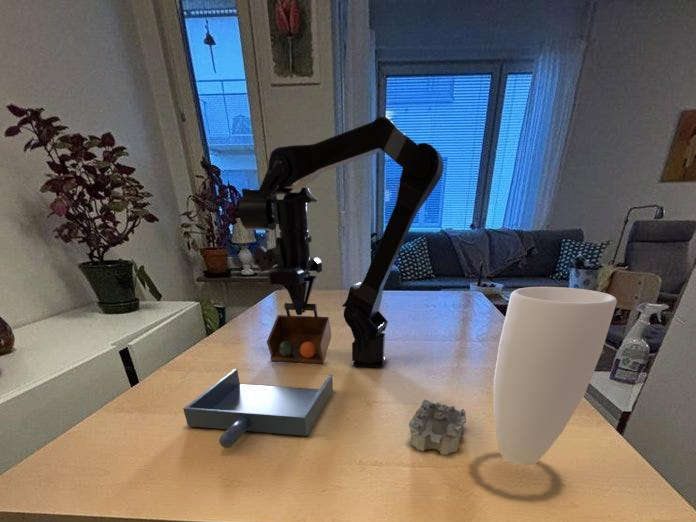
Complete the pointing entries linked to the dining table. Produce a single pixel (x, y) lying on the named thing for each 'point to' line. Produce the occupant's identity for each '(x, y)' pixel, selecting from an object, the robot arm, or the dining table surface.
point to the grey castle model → (437, 427)
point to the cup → (545, 365)
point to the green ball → (286, 348)
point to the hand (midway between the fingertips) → (300, 313)
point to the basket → (300, 335)
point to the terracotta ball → (307, 349)
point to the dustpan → (257, 408)
